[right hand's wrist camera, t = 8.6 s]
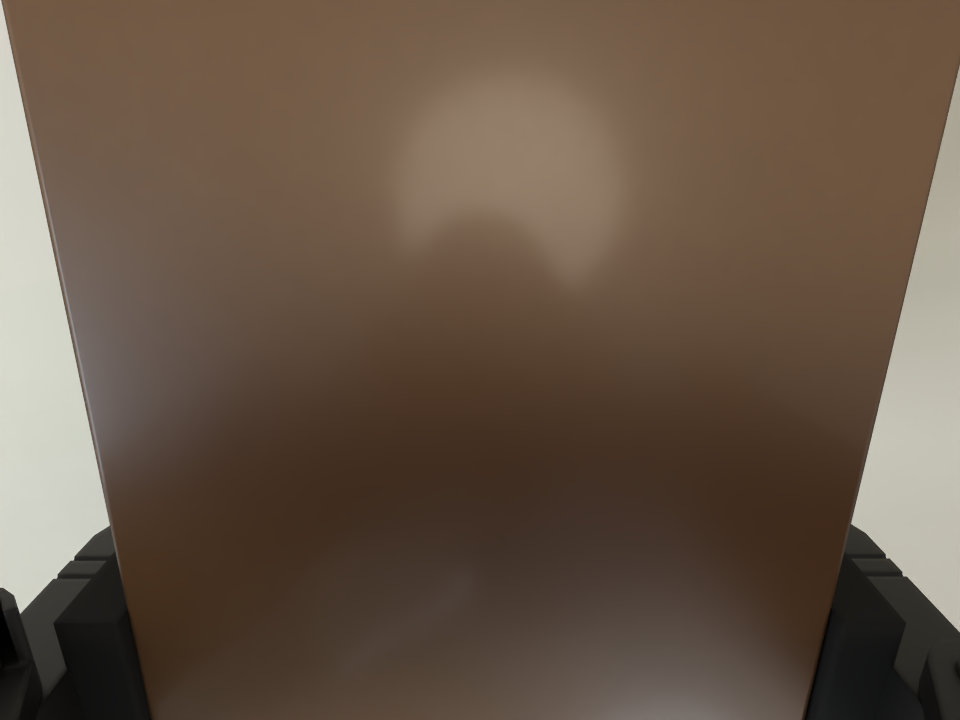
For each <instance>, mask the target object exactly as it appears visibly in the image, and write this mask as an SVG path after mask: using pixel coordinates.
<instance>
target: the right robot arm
mask: <svg viewBox="0 0 960 720" xmlns="http://www.w3.org/2000/svg"><path fill="white" fill-rule="evenodd" d="M0 720H151V719H150V714H149V710H148V705H147V700H146V696H145V691H144V686H143V682H142V677H141V672H140V667H139V662H138V657H137V653H136V648H135V643H134V638H133V633H132V628H131V624H130V619H129V614H128V609H127V604H126V599H125V595H124V590H123V585H122V580H121V575H120V570H119V566H118V561H117V556H116V551H115V546H114V542H113V537H112V532H111V527H110V526H109V527H107V528H106V529H104V530H102V531H101V532H99V533H98V534H96V535H94V536H93V538H92V539H91V540H90V541H89V542H88V543H87V544H86V545H85V546H84V547H83V548H82V549H81V550H80V551H79V552H78V553H77V555H76V556H75V559H74V561H70V562H69V563H68V564H67V565H66V566H65V567H64V568H63V569H62V570H61V571H60V573H59V574H58V578H57V579H53V580H52V581H51V582H50V583H49V584H48V585H47V586H46V587H45V588H44V590H43V591H42V592H41V593H40V594H39V595H38V596H37V597H36V598H35V599H34V600H33V601H32V602H31V603H30V604H29V605H28V607H27V608H26V609H25V610H24V611H23V612H22V613H21V614H20V613H19V610H18V607H17V604H16V600H15V597H14V595H12V594H11V593H10V592H8V591H7V590H5V589H4V588H0ZM805 720H960V632H959V631H958V630H957V629H956V628H955V627H954V626H953V625H952V624H951V623H950V622H949V621H948V620H947V619H946V618H945V616H944V615H943V614H942V613H941V612H940V611H939V610H938V609H937V608H936V607H935V606H934V605H933V604H932V603H931V602H930V601H929V600H928V599H927V598H926V596H925V595H924V594H923V593H922V592H921V591H920V590H919V589H918V588H917V587H916V586H915V585H914V584H913V583H912V582H911V581H910V580H909V579H908V577H903V575H902V571H901V570H900V569H899V568H898V567H897V566H896V565H895V564H894V563H893V562H892V561H891V560H890V559H886V554H885V553H884V552H883V551H882V550H881V549H880V548H879V547H878V546H877V545H876V544H875V543H874V542H873V541H872V539H871V538H870V537H869V536H868V535H867V534H866V533H864V532H863V531H861V530H860V529H858V528H856V527H855V526H853V525H852V524H851V525H850V530H849V534H848V538H847V542H846V546H845V551H844V555H843V559H842V563H841V568H840V572H839V576H838V580H837V584H836V589H835V593H834V597H833V601H832V606H831V610H830V614H829V618H828V622H827V627H826V631H825V635H824V639H823V644H822V648H821V652H820V656H819V660H818V665H817V669H816V673H815V677H814V682H813V686H812V690H811V694H810V698H809V703H808V707H807V711H806V715H805Z"/></svg>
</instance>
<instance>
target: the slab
mask: <svg viewBox="0 0 960 720" xmlns="http://www.w3.org/2000/svg"><path fill="white" fill-rule="evenodd" d="M1 1H2V5H3V10H4V15H5V20H6V25H7V30H8V34H9V39H10V44H11V49H12V54H13V59H14V63H15V68H16V73H17V78H18V83H19V88H20V92H21V97H22V102H23V107H24V112H25V117H26V121H27V126H28V131H29V136H30V141H31V145H32V150H33V155H34V160H35V165H36V170H37V174H38V179H39V184H40V189H41V194H42V199H43V203H44V208H45V213H46V218H47V223H48V228H49V232H50V237H51V242H52V247H53V252H54V257H55V261H56V266H57V271H58V276H59V281H60V286H61V290H62V295H63V300H64V305H65V310H66V315H67V319H68V324H69V329H70V334H71V339H72V343H73V348H74V353H75V358H76V363H77V368H78V372H79V377H80V382H81V387H82V392H83V397H84V401H85V406H86V411H87V416H88V421H89V426H90V430H91V435H92V440H93V445H94V450H95V455H96V459H97V464H98V469H99V474H100V479H101V484H102V488H103V493H104V498H105V503H106V508H107V513H108V517H109V522H110V527H111V532H112V537H113V542H114V546H115V551H116V556H117V561H118V566H119V570H120V575H121V580H122V585H123V590H124V595H125V599H126V604H127V609H128V614H129V619H130V624H131V628H132V633H133V638H134V643H135V648H136V653H137V657H138V662H139V667H140V672H141V677H142V682H143V686H144V691H145V696H146V700H147V705H148V710H149V714H150V719H151V720H805V715H806V711H807V707H808V703H809V698H810V694H811V690H812V686H813V682H814V677H815V673H816V669H817V665H818V660H819V656H820V652H821V648H822V644H823V639H824V635H825V631H826V627H827V622H828V618H829V614H830V610H831V606H832V601H833V597H834V593H835V589H836V584H837V580H838V576H839V572H840V568H841V563H842V559H843V555H844V551H845V546H846V542H847V538H848V534H849V530H850V525H851V521H852V517H853V513H854V508H855V504H856V500H857V496H858V492H859V487H860V483H861V479H862V475H863V470H864V466H865V462H866V458H867V454H868V449H869V445H870V441H871V437H872V432H873V428H874V424H875V420H876V416H877V411H878V407H879V403H880V399H881V394H882V390H883V386H884V382H885V378H886V373H887V369H888V365H889V361H890V356H891V352H892V348H893V344H894V340H895V335H896V331H897V327H898V323H899V318H900V314H901V310H902V306H903V302H904V297H905V293H906V289H907V285H908V280H909V276H910V272H911V268H912V264H913V259H914V255H915V251H916V247H917V242H918V238H919V234H920V230H921V226H922V221H923V217H924V213H925V209H926V204H927V200H928V196H929V192H930V188H931V183H932V179H933V175H934V171H935V166H936V162H937V158H938V154H939V150H940V145H941V141H942V137H943V133H944V128H945V124H946V120H947V116H948V112H949V107H950V103H951V99H952V95H953V90H954V86H955V82H956V78H957V74H958V69H959V65H960V0H1Z"/></svg>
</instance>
